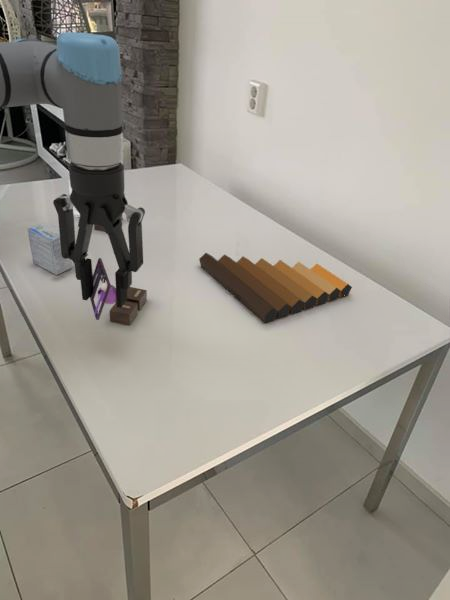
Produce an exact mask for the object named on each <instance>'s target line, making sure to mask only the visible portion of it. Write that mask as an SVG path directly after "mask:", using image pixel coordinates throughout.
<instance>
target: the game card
mask: <svg viewBox="0 0 450 600" xmlns="http://www.w3.org/2000/svg"><path fill="white" fill-rule="evenodd" d="M94 268H95V269H94V271H93V273H92V274H93V293H92V295H91V296H90V297H89V299H90V302H91V306H92V309H93V313H94V317H95V320H96V321H99V320H100V318H101V314H102V312H103V309H104V306H105V304H107V305H114V304H115V303H116V286H114V285H112V284H111V281H110V278H109V276H108V273H107V271H106V268H105V265H104V262H103V259H102V258H101V257H98V259H97V262H96V265H95V267H94ZM100 282H101V284H100ZM99 285H100V286H99ZM96 294H97V298H98V299H97V301H96V303H95V297H96Z"/></svg>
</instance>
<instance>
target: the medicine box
mask: <svg viewBox="0 0 450 600" xmlns="http://www.w3.org/2000/svg"><path fill="white" fill-rule="evenodd" d="M27 234H28V240H29V247H30V253H31V256H32V263H33V264H35V265H36V266H38V267H40V268H42V269H44V270H46V271H48V272H50V273H52V274H54V275H56V276H58V275H60V274H62V273H64V272H66V271H68V270H71V269H72V268H73V264H72V263H73V262H72V260H71V259H69V258H67V259H65V258H63V257H62V255H61V243H60V232H59V228H56V227H54V226H52V225H50V224H48V223H46V222H43V223H42V222H41V223H39V224H36V225H33V226H31V227H29V228H27Z"/></svg>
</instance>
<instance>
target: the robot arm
mask: <svg viewBox="0 0 450 600" xmlns="http://www.w3.org/2000/svg"><path fill="white" fill-rule="evenodd" d="M122 80H123V72H122V65H121V53H120V47H119V44H118V42H117V40H115V39H114V38H113V37H111V36H109V35H104V34H97V33H92V32H91V33H90V32H89V33H88V32H79V31H78V32H77V31H76V32H74V31H66V32H60V33H59V34H58V35H57V37H56V44H52V43H48V42H44V41H42V40H40V39H37V38H33V39H32V38H31V39H30V38H17V39H14V40H12V41H0V108H12V107H13V108H14V107H23V106H32V105H33V106H34V105H50V106H52V107H56V108H59V109H62V114H63V121H64V122H63V124H64V133H65V146H66V154H67V155H66V156H67V159H68V161H70V162H69V163H68V174H69V185H70V188H71V192H70V194H69V195H68V194H66V193H63V194H61V195H60V196H58V197H56V198H55V199H53V202H52V204H53V206H54V208H55V210H56V213H57V218H58V219H57V220H58V229H59V232H60V243H61V255H62V257H63V258H65V259H67V258H69V259H71V262H72V263H73V264H74V274H75V278H76V280H77V281H80V289H81V300H82V301H88V300H89V299H90V296H91V295H92V293H93V274H94V273H93V265H92V264H93V263H92V262H93V261H92V258H88V255H89V253H88V251H89V247H90V242H91V237H92V234H93V229H94V224H98V225H100V226H102V227H104V229H105V231H104V232H105V234H106V235H108V239H109V242H110V244H111V248H112V251H113V254H114V256H115V260H116V263H117V267H118V269H117V270H116V271H115V272H114V275H115V276H114V277H115V278H114V279H115V288H116V301H117V307H120V308H121V307H122V306H123V305H124V303H125V302H126V300H127V290H128V288H129V287H132V284H133V273H137V272H138V271H139V270H140V269H141V267H143V264H144V247H143V246H144V245H143V219H144V217H145V214H146V211H145V209H144V207H138V208H137V207H134V206H132V205H131V204H129V203H128V200H127V198H126V196H125V166H124V164H123V163H122V162H123V161H124V133H123V130H124V129H123V88H122V85H123V84H122V82H123V81H122ZM73 208H76V209H77V211H78V212H79V214H80V217H78V224H77V225H78V226H77V227H78V230H77V236H76V230H75V217H74V213H73ZM123 214H125V215H126V222H127V223H128V226H127V235H128V244H127V241H126V240H127V239H126V237H125V233H124V230H123V221H122V220H121V218H120V216H121V215H122V216H123Z"/></svg>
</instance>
